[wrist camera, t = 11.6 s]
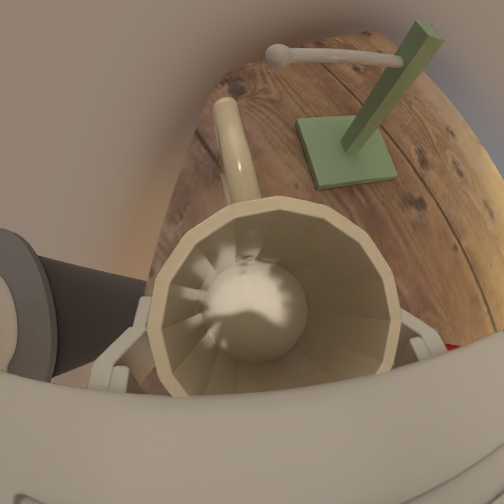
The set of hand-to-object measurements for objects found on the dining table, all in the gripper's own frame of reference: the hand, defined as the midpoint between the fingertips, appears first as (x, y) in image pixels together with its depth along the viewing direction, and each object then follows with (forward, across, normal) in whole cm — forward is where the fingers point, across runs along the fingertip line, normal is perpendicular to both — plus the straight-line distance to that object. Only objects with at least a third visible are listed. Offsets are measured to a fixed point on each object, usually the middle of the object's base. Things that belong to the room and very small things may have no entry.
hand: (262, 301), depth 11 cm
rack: (+27, -11, +2) cm, 30 cm away
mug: (+5, 0, +3) cm, 6 cm away
